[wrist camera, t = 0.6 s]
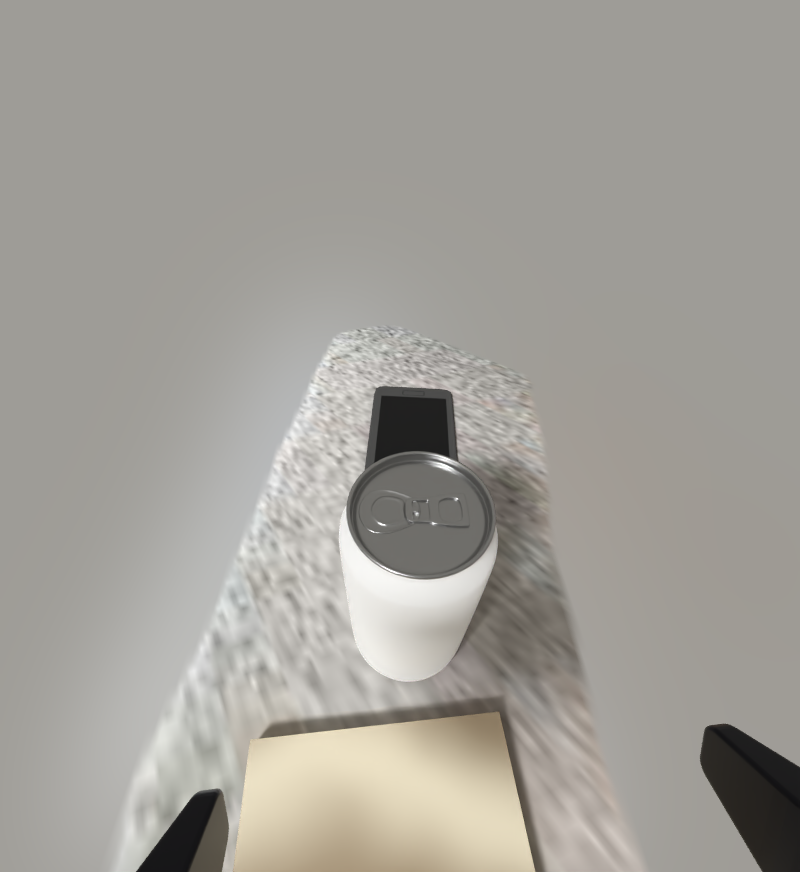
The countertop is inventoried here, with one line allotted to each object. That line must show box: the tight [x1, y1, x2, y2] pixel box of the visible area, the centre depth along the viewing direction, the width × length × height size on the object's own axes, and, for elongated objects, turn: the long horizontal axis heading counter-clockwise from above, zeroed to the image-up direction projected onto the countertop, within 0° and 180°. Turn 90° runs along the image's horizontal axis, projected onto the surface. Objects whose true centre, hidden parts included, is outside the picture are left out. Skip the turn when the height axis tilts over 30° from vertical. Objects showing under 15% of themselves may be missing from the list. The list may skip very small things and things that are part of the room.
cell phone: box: [365, 386, 457, 470], centre depth 34 cm, size 7×14×1 cm, turn 178°
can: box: [339, 451, 498, 682], centre depth 19 cm, size 6×6×12 cm
